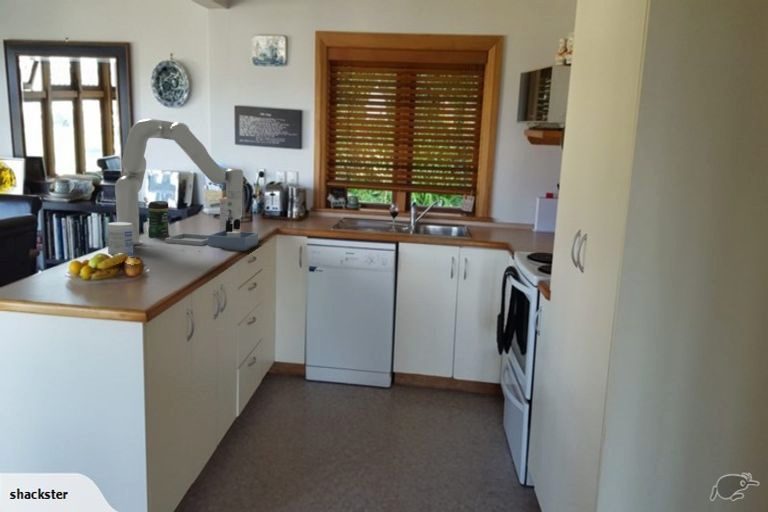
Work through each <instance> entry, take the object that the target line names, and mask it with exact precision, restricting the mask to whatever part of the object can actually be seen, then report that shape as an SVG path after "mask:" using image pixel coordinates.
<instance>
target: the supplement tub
mask: <svg viewBox="0 0 768 512" xmlns="http://www.w3.org/2000/svg"><path fill="white" fill-rule="evenodd" d="M133 245H134V244H133V228H132V223H127V222H117V221H116V222H114V221H113V222H109V223H107V253H108V254H118V253H125V254H127V255H128V256H129V257H134V246H133Z"/></svg>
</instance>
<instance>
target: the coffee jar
mask: <svg viewBox="0 0 768 512" xmlns="http://www.w3.org/2000/svg"><path fill="white" fill-rule="evenodd" d="M169 209H170V208H169V202H168V201H167V200H155V201H154V200H153V201H150V202H149V203H148V212H149V217H148V218H149V221H148V234H147V235H148V238H150V239H154V238H155V239H159V238H165V237H166V238H167V237H170V232H169V219H168V217H169V216H168V215H169V211H170V210H169Z"/></svg>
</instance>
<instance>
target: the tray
mask: <svg viewBox="0 0 768 512" xmlns="http://www.w3.org/2000/svg"><path fill="white" fill-rule="evenodd" d="M208 235H209V234H199V233H187V232H186V233H185V232H181V233H177V234H175V235H171V236H167V237H166V238H165V237H164V242H165V243H166V244H174V245H176V244H177V245H187V246H189V245H190V246H201V247H202V246H205V245H207V244H208Z"/></svg>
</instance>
